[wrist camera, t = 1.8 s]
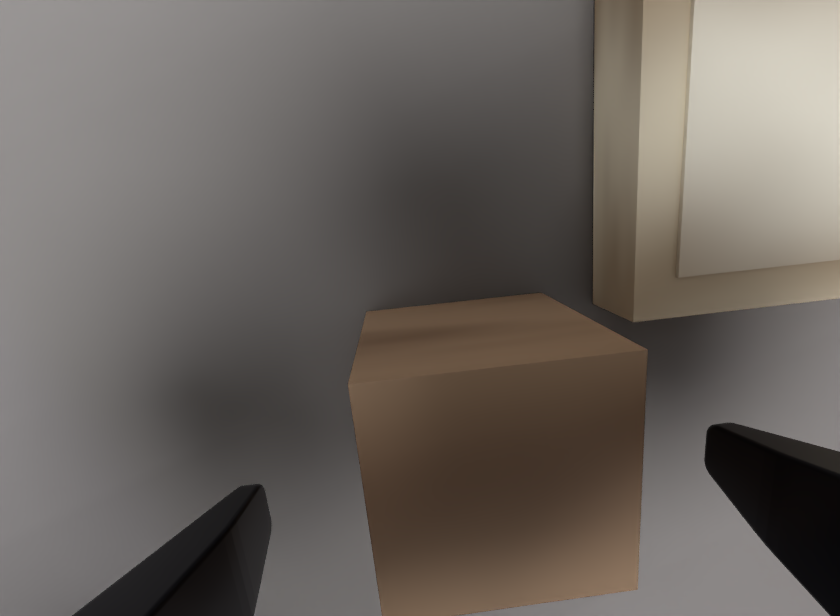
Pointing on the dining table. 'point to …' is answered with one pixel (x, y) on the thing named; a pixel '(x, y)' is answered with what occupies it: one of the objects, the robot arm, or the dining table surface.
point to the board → (715, 155)
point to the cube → (498, 454)
